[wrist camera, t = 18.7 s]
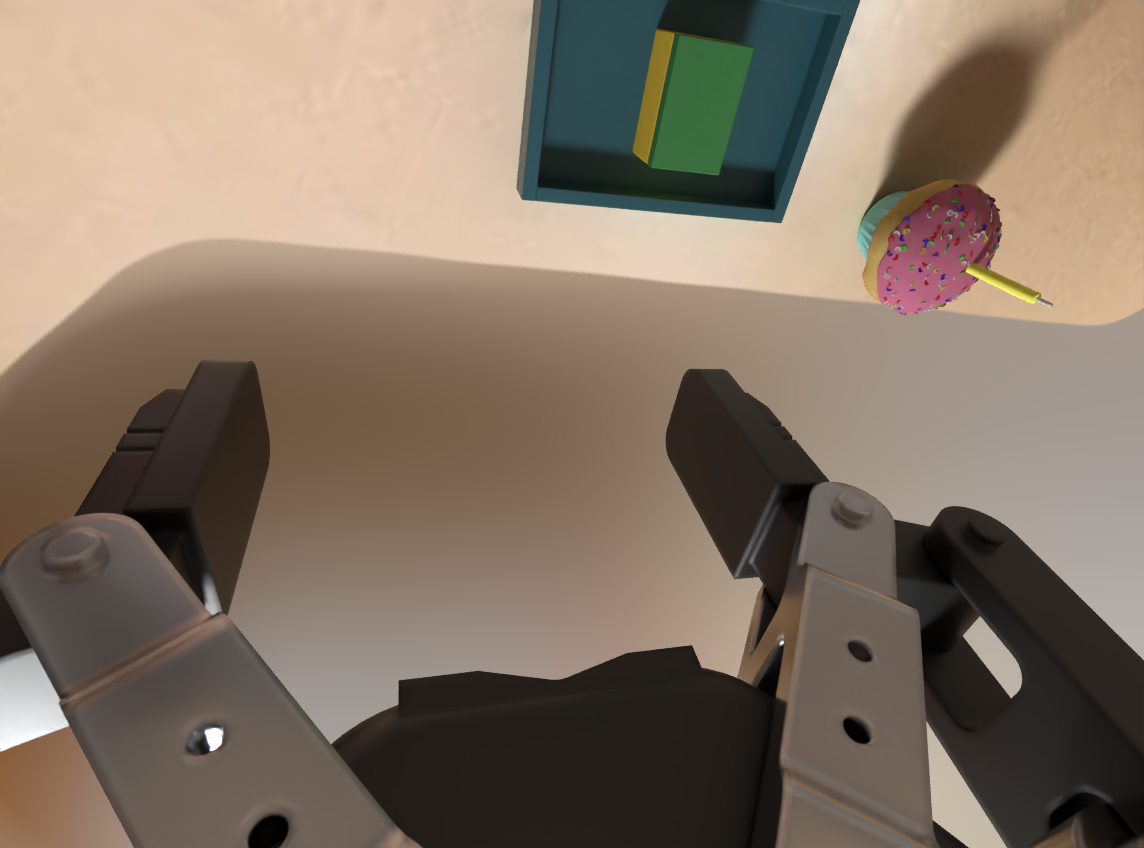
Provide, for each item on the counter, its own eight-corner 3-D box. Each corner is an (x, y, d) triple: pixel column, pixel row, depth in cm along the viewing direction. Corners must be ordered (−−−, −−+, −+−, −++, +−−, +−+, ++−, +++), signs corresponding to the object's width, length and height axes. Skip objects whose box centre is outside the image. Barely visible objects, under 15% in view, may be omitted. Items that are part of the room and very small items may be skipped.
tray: (516, 189, 34) (521, 200, 33) (539, -66, 28) (547, -68, 26) (766, 213, 39) (781, 223, 37) (838, -2, 32) (861, -1, 31)
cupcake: (967, 173, 40) (1135, 234, 31) (904, 289, 45) (1033, 372, 36) (865, 153, 38) (1014, 213, 29) (809, 278, 43) (922, 364, 33)
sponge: (695, 159, 35) (719, 175, 32) (631, 152, 34) (651, 168, 31) (725, 40, 32) (755, 47, 29) (656, 28, 31) (680, 34, 28)
